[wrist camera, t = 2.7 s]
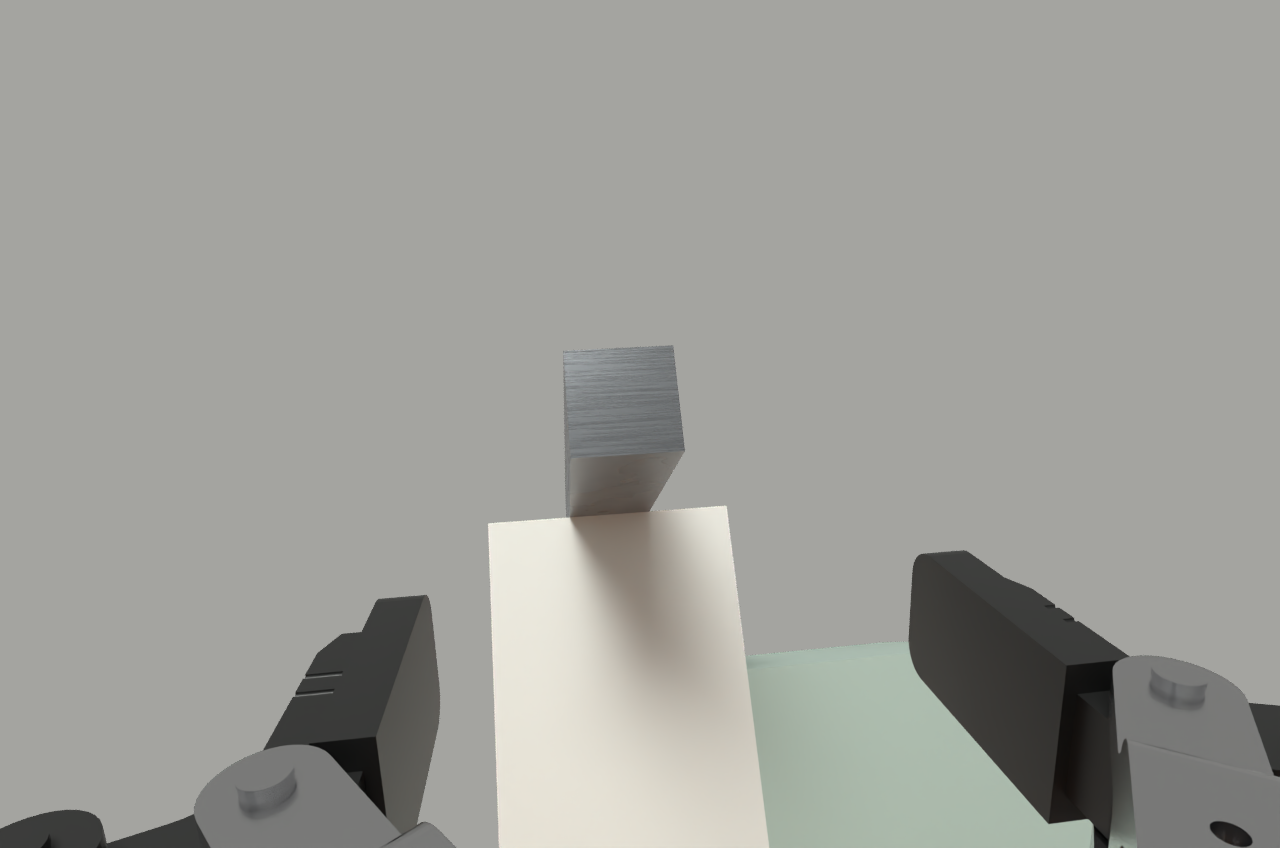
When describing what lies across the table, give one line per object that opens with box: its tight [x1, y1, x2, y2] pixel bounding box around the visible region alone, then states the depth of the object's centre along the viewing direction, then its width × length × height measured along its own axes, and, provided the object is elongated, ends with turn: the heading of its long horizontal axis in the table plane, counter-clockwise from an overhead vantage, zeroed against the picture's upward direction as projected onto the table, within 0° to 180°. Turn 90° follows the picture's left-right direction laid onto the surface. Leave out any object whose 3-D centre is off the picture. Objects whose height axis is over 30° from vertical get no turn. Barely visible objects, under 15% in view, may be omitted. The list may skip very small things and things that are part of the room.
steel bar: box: [563, 346, 685, 518], centre depth 30 cm, size 22×3×3 cm, turn 5°
